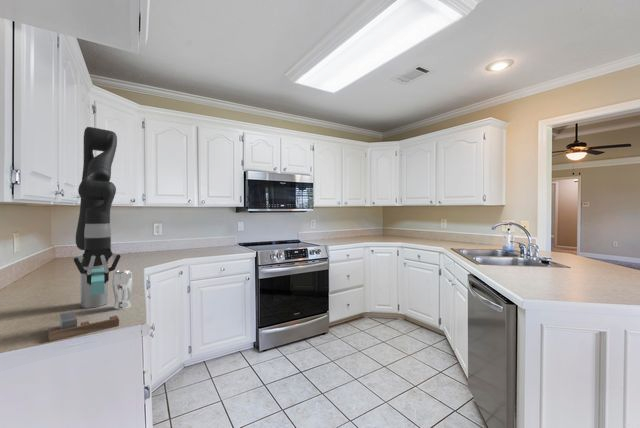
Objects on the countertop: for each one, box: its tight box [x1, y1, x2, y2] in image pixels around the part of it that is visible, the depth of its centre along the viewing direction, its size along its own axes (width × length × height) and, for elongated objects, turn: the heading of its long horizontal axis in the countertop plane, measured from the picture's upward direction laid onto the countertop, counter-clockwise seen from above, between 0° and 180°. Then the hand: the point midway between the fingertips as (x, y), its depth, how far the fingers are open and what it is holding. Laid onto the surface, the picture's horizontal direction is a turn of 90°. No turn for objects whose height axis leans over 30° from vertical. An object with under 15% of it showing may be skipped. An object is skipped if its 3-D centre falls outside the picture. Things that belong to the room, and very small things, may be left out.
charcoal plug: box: [59, 311, 78, 330], centre depth 97 cm, size 12×4×5 cm, turn 45°
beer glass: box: [112, 269, 134, 311], centre depth 120 cm, size 7×7×15 cm
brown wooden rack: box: [47, 314, 120, 343], centre depth 96 cm, size 5×18×2 cm, turn 135°
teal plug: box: [91, 268, 104, 295], centre depth 103 cm, size 12×4×5 cm, turn 38°
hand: (98, 283), depth 102 cm, fingers closed on teal plug, 3 cm apart
